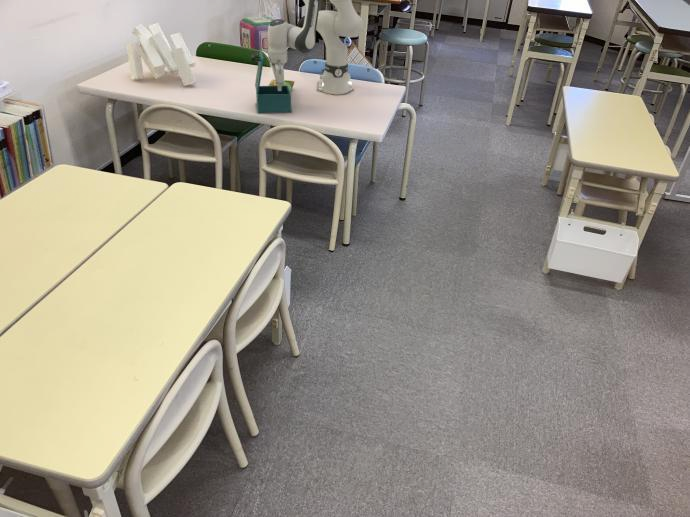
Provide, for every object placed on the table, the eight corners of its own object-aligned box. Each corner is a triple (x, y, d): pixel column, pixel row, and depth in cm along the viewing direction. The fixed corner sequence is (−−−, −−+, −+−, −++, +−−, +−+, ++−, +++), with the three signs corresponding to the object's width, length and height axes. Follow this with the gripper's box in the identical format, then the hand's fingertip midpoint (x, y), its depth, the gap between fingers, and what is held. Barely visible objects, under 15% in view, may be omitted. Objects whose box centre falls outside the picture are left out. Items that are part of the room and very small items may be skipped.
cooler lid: (261, 51, 258) (251, 48, 256) (263, 59, 248) (252, 56, 246) (256, 85, 267) (246, 83, 265) (258, 94, 257) (247, 92, 255)
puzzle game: (264, 90, 274) (272, 77, 290) (265, 99, 277) (272, 86, 293) (288, 92, 274) (294, 79, 290) (288, 101, 276) (294, 88, 292)
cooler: (288, 103, 275) (288, 85, 270) (291, 112, 265) (290, 94, 260) (256, 103, 272) (255, 85, 267) (258, 113, 262) (257, 95, 257)
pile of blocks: (208, 85, 304) (189, 19, 297) (193, 80, 275) (172, 7, 268) (149, 101, 307) (129, 36, 299) (128, 98, 278) (104, 26, 270)
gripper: (287, 64, 247) (287, 94, 255) (282, 51, 263) (282, 79, 271) (273, 64, 246) (273, 94, 254) (269, 51, 262) (270, 80, 270)
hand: (278, 87), depth 263 cm, fingers open, 8 cm apart
